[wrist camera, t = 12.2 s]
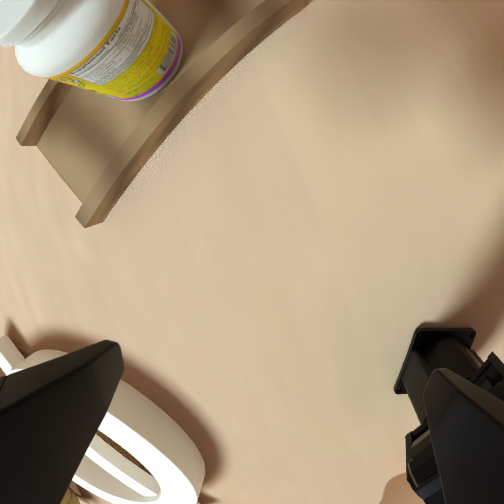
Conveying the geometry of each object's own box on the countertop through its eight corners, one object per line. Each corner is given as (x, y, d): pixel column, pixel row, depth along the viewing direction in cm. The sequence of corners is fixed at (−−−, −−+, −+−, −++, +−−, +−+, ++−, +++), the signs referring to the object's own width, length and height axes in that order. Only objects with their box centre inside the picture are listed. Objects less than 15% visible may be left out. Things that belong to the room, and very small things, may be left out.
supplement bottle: (96, 59, 17) (-27, 13, 5) (165, 10, 16) (69, -83, 3) (123, 121, 18) (-27, 96, 6) (201, 69, 17) (93, -35, 4)
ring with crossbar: (1, 324, 27) (-22, 340, 22) (196, 382, 24) (181, 418, 19) (62, 456, 34) (50, 472, 30) (212, 507, 31) (205, 530, 27)
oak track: (102, 222, 21) (84, 228, 18) (34, 138, 20) (15, 138, 17) (305, 7, 15) (306, -11, 13) (198, -50, 14) (190, -65, 12)
